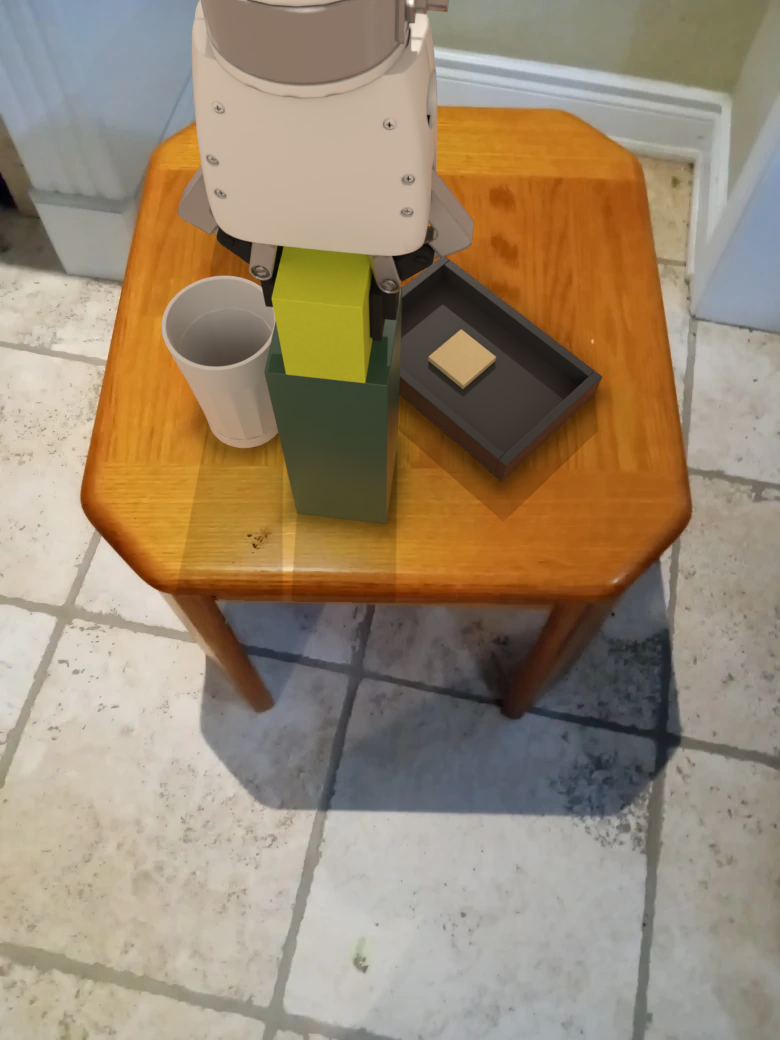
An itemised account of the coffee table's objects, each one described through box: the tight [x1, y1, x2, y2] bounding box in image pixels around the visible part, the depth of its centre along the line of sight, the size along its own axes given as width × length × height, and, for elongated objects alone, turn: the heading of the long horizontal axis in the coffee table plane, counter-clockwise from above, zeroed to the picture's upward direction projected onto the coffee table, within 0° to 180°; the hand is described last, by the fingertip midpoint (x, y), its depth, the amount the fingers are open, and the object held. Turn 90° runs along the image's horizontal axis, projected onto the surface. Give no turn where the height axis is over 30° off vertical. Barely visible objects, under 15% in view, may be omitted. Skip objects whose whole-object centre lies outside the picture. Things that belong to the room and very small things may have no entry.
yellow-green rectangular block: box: [272, 246, 373, 383], centre depth 44 cm, size 4×7×6 cm, turn 173°
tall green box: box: [264, 286, 403, 525], centre depth 56 cm, size 7×7×19 cm
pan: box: [399, 256, 603, 483], centre depth 67 cm, size 18×12×3 cm, turn 45°
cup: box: [161, 275, 278, 449], centre depth 61 cm, size 8×8×12 cm
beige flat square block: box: [428, 329, 496, 389], centre depth 68 cm, size 4×4×1 cm
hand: (333, 313), depth 46 cm, fingers closed on yellow-green rectangular block, 4 cm apart
